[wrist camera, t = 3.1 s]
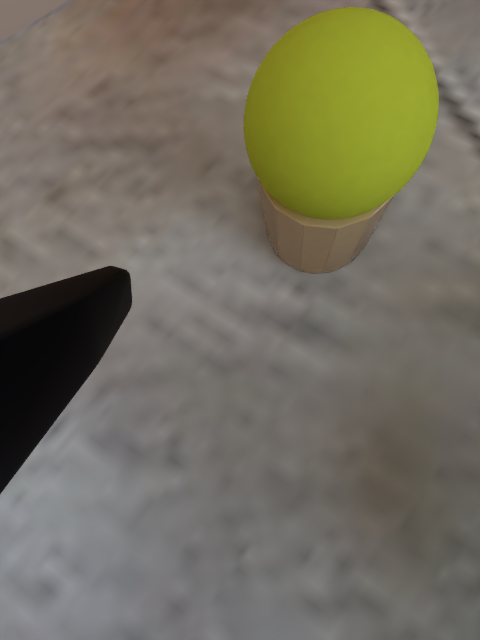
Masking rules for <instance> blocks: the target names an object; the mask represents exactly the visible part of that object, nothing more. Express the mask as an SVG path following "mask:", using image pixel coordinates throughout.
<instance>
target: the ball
mask: <svg viewBox="0 0 480 640" xmlns="http://www.w3.org/2000/svg"><path fill="white" fill-rule="evenodd" d="M438 106H439V95H438V85H437V80H436V76H435V72H434V68H433V65H432V63H431V60H430V58H429V56H428V54H427V52H426V50H425V49H424V47H423V45H422V44H421V42H420V41H419V40H418V38H417V37H416V36H415V35H414V34H413V33H412V32H411V31H410V30H409V29H408V28H407V27H406V26H404V25H403V24H402V23H401V22H399V21H398V20H396V19H395V18H393V17H391V16H389V15H387V14H385V13H382V12H379V11H376V10H372V9H368V8H360V7H344V8H336V9H332V10H327V11H324V12H321V13H318V14H316V15H314V16H312V17H310V18H308V19H306V20H304V21H302V22H301V23H299V24H297V25H296V26H294V27H293V28H292V29H290V30H289V31H288V32H287V33H286V34H285V35H284V36H283V37H282V38H281V39H280V40H279V41H278V42H277V43H276V44H275V45H274V46H273V47H272V48H271V50H270V51H269V52H268V53H267V55H266V56H265V58H264V60H263V61H262V63H261V65H260V66H259V68H258V70H257V71H256V74H255V76H254V78H253V81H252V83H251V86H250V89H249V93H248V96H247V100H246V107H245V115H244V137H245V144H246V149H247V153H248V156H249V159H250V163H251V165H252V168H253V170H254V172H255V174H256V176H257V177H258V179H259V180H260V182H261V183H262V185H263V186H264V188H265V189H266V190H267V191H268V192H269V194H270V195H271V196H273V197H274V198H275V199H276V200H277V201H278V202H280V203H281V204H282V205H284V206H285V207H287V208H288V209H290V210H292V211H294V212H296V213H298V214H301V215H304V216H307V217H311V218H316V219H326V220H334V219H344V218H350V217H354V216H357V215H360V214H363V213H366V212H368V211H370V210H373V209H375V208H377V207H378V206H380V205H382V204H383V203H385V202H386V201H388V200H389V199H390V198H391V197H393V196H394V195H395V194H396V193H398V192H399V191H400V190H401V189H402V188H403V187H404V186H405V185H406V184H407V183H408V182H409V180H410V179H411V178H412V176H413V175H414V174H415V172H416V171H417V170H418V168H419V167H420V165H421V163H422V162H423V160H424V158H425V156H426V154H427V152H428V150H429V147H430V145H431V142H432V139H433V136H434V132H435V128H436V123H437V119H438Z"/></svg>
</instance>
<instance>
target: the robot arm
mask: <svg viewBox="0 0 480 640" xmlns="http://www.w3.org/2000/svg"><path fill="white" fill-rule="evenodd" d="M131 305H132V292H131V278H130V274H129V272H128V271H127V270H125V269H121V268H118V267H115V266H107V267H104V268H101V269H97V270H94V271H91V272H87V273H84V274H81V275H77V276H74V277H71V278H67V279H64V280H61V281H57V282H54V283H51V284H47V285H44V286H41V287H37V288H34V289H31V290H27V291H24V292H21V293H17V294H14V295H11V296H7V297H4V298H1V299H0V494H1V492H2V491H3V490H4V488H5V487H6V486H7V484H8V483H9V482H10V480H11V479H12V478H13V476H14V475H15V474H16V472H17V471H18V470H19V469H20V467H21V466H22V465H23V463H24V462H25V461H26V459H27V458H28V457H29V455H30V454H31V453H32V451H33V450H34V449H35V447H36V446H37V445H38V443H39V442H40V441H41V439H42V438H43V437H44V435H45V434H46V433H47V431H48V430H49V429H50V427H51V426H52V425H53V423H54V422H55V421H56V419H57V418H58V417H59V415H60V414H61V413H62V411H63V410H64V409H65V407H66V406H67V405H68V403H69V402H70V401H71V399H72V398H73V397H74V395H75V394H76V393H77V391H78V390H79V389H80V387H81V386H82V385H83V383H84V382H85V381H86V379H87V378H88V377H89V375H90V374H91V373H92V371H93V370H94V369H95V367H96V366H97V364H98V363H99V361H100V360H101V358H102V357H103V355H104V353H105V352H106V350H107V348H108V347H109V345H110V343H111V341H112V340H113V338H114V336H115V335H116V333H117V331H118V329H119V328H120V326H121V324H122V323H123V321H124V319H125V318H126V316H127V314H128V312H129V311H130V308H131Z"/></svg>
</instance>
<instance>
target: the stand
mask: <svg viewBox="0 0 480 640" xmlns="http://www.w3.org/2000/svg"><path fill="white" fill-rule="evenodd" d="M259 186H260V192H261V198H262V205H263V211H264V217H265V224H266V230H267V236H268V239H269V241H270V243H271V245H272V248H273V249H274V251H275V252H276V254H277V255H278V256H279V257H280V258H281V259H282V260H283V261H284V262H285V263H287V264H288V265H289V266H291V267H293V268H295V269H297V270H300V271H303V272H308V273H326V272H331V271H335V270H337V269H340V268H342V267H344V266H345V265H347V264H349V263H350V262H351V261H352V260H354V259H355V258H356V257H357V255H358V254H359V253H360V252H361V251H362V250H363V249H364V247H365V246H366V244H367V242H368V241H369V239H370V237H371V235H372V234H373V232H374V230H375V229H376V227H377V225H378V223H379V222H380V220H381V218H382V216H383V215H384V213H385V211H386V210H387V208H388V206H389V204H390V203H391V201H392V199H393V197H394V196H395V195H394V196H393V197H391V198H390V199H389V200H388V201H386V202H385V203H383V204H382V205H380V206H378V207H377V208H375V209H373V210H370V211H368V212H366V213H363V214H360V215H357V216H354V217H350V218H344V219H334V220H326V219H316V218H311V217H307V216H304V215H301V214H298V213H296V212H294V211H292V210H290V209H288V208H287V207H285V206H284V205H282V204H281V203H280V202H278V201H277V200H276V199H275V198H274V197H273V196H271V195H270V194H269V192H268V191H267V190H266V189H265V188H264V186H263V185H262V183H261V182H260V180H259Z"/></svg>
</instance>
